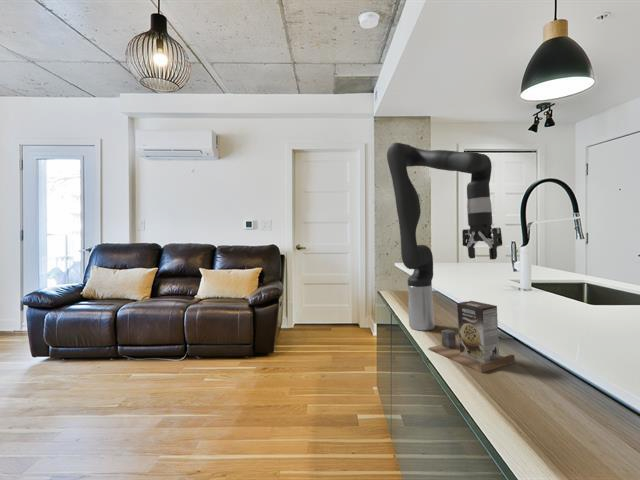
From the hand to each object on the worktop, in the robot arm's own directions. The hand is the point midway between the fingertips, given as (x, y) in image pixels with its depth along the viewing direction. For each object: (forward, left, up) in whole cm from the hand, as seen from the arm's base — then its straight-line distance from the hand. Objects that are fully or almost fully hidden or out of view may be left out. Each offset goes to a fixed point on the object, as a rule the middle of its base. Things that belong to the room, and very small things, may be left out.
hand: (482, 258), depth 112 cm
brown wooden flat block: (+7, -16, -28) cm, 33 cm away
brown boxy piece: (+11, -16, -28) cm, 34 cm away
